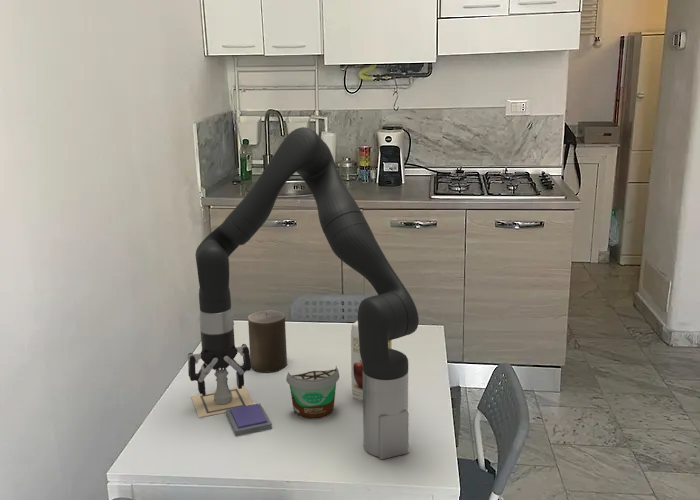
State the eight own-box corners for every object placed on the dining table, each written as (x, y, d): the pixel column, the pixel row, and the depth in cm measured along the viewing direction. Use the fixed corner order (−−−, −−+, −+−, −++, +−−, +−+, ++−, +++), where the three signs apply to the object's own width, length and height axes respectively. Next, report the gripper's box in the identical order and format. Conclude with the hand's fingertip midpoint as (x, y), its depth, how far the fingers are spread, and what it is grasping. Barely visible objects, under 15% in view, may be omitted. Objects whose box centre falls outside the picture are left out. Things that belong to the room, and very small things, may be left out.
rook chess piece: (216, 395, 164) (214, 365, 162) (235, 396, 164) (233, 365, 162) (211, 404, 160) (208, 373, 158) (229, 405, 160) (227, 374, 158)
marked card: (255, 406, 159) (255, 405, 159) (199, 417, 155) (199, 416, 155) (244, 386, 169) (244, 385, 169) (191, 396, 165) (191, 395, 165)
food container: (292, 425, 151) (290, 384, 148) (287, 412, 157) (285, 372, 154) (346, 417, 154) (345, 376, 152) (339, 404, 160) (338, 365, 157)
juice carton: (363, 385, 169) (363, 313, 164) (394, 393, 165) (395, 320, 159) (348, 398, 163) (347, 324, 158) (379, 407, 158) (379, 331, 153)
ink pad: (272, 428, 150) (271, 421, 149) (236, 436, 147) (235, 429, 147) (260, 407, 159) (260, 401, 158) (226, 414, 156) (225, 408, 156)
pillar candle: (285, 372, 177) (283, 317, 173) (247, 372, 177) (244, 318, 173) (288, 357, 186) (286, 305, 182) (252, 357, 186) (250, 305, 182)
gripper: (243, 316, 163) (247, 379, 167) (182, 326, 158) (188, 389, 162) (251, 327, 156) (255, 392, 160) (188, 337, 151) (193, 404, 155)
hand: (221, 391), depth 161 cm, fingers open, 8 cm apart
